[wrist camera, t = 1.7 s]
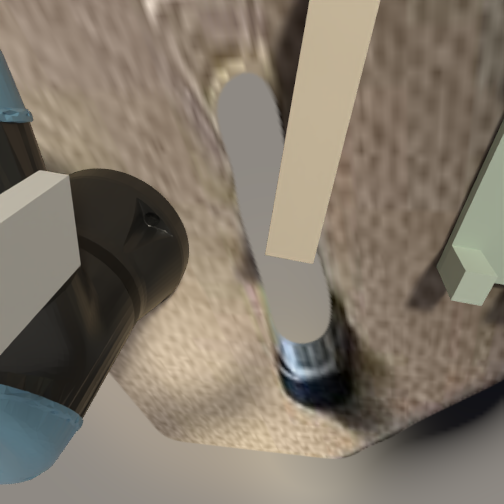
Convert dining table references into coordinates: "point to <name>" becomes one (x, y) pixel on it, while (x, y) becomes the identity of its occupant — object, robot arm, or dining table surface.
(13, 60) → the dining table surface
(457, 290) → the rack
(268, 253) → the clay slat
